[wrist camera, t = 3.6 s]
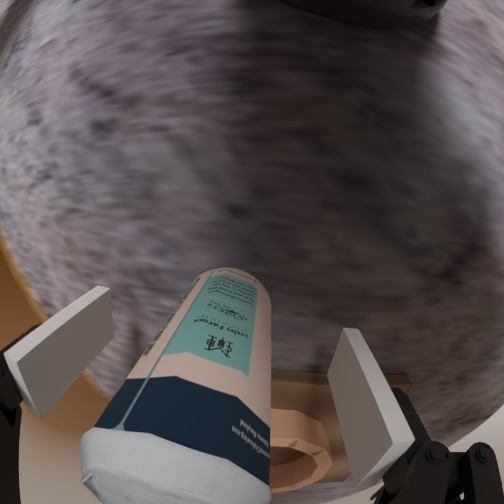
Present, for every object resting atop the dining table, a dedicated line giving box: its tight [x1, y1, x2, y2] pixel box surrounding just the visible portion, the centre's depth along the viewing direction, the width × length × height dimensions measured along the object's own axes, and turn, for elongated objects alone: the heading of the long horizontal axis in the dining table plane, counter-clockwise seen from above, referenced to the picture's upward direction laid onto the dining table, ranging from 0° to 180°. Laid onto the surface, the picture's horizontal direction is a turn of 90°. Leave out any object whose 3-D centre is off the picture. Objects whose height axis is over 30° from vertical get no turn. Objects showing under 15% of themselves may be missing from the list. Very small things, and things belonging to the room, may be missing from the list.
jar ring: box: [269, 409, 333, 493], centre depth 15 cm, size 9×9×2 cm
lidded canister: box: [80, 267, 272, 504], centre depth 9 cm, size 5×5×12 cm
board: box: [141, 345, 412, 483], centre depth 17 cm, size 14×18×1 cm
